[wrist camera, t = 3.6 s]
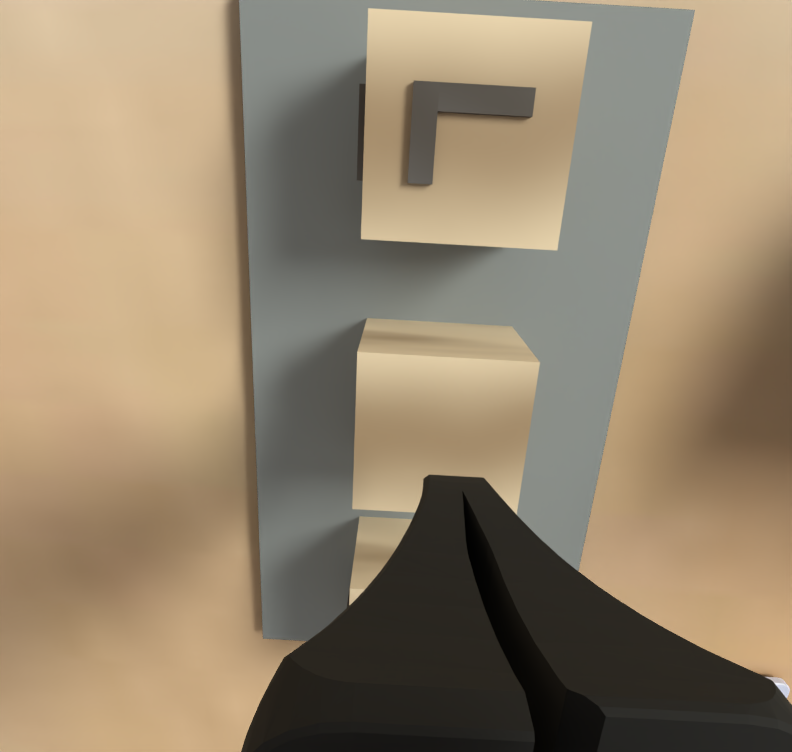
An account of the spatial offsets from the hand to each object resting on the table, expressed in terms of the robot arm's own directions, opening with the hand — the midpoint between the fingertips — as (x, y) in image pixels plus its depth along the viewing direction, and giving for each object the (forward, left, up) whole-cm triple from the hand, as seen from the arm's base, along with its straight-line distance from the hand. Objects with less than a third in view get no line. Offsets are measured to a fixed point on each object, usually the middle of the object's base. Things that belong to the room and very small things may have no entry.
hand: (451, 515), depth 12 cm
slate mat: (0, 0, -8) cm, 8 cm away
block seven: (+8, 0, -8) cm, 11 cm away
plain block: (0, 0, -8) cm, 8 cm away
